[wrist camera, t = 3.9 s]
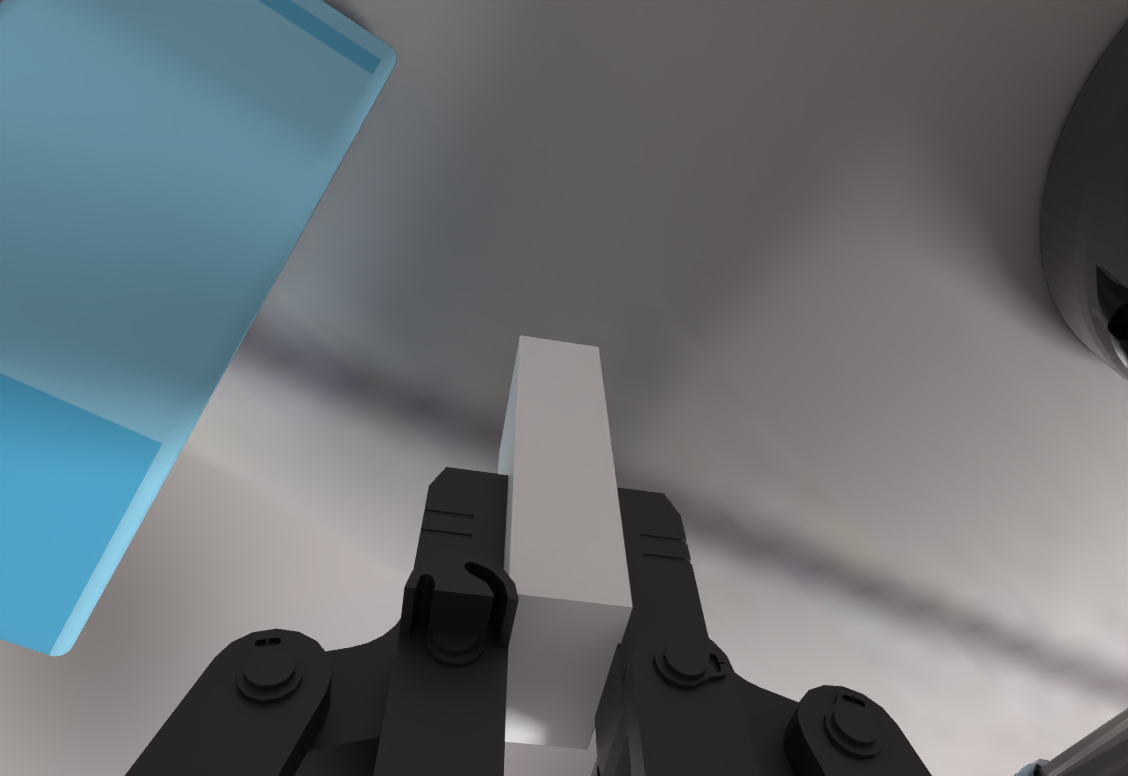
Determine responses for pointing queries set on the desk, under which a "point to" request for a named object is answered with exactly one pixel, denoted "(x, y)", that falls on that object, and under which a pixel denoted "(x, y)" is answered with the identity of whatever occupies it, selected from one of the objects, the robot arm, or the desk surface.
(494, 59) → the desk surface
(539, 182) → the desk surface
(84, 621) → the data package
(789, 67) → the desk surface
